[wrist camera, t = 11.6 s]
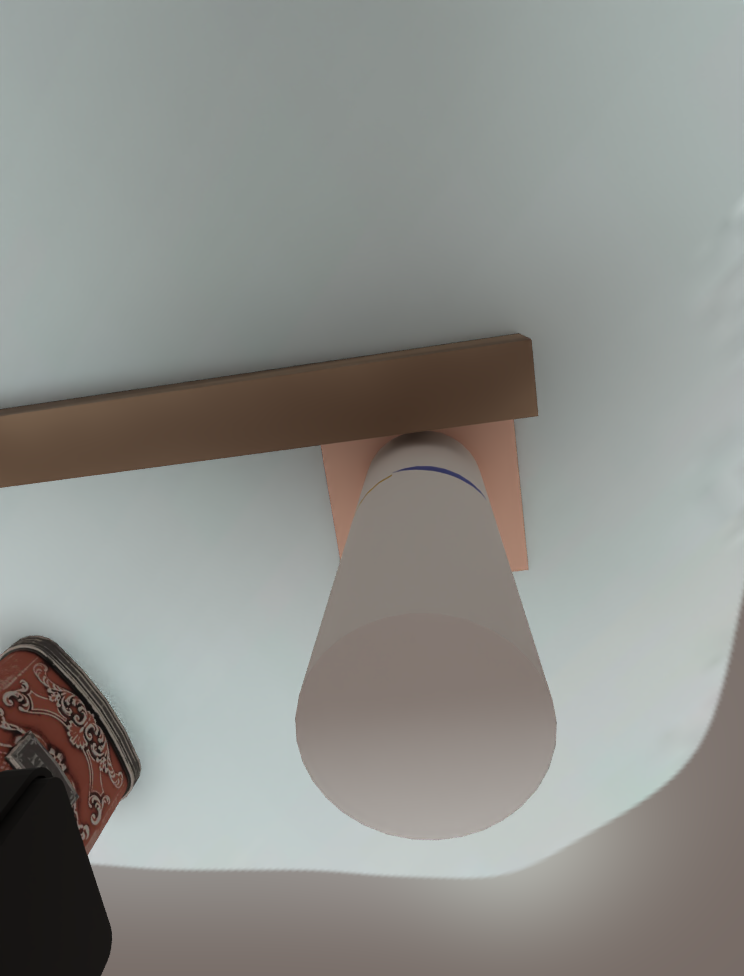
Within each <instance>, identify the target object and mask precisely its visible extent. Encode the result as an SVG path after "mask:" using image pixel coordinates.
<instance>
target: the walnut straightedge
mask: <svg viewBox="0 0 744 976" xmlns="http://www.w3.org/2000/svg"><path fill="white" fill-rule="evenodd" d="M534 416H538V407H537V396H536V385H535V373H534V362H533V351H532V340H531V339H530V338H528V337H525V336H523V335H521V334H519V333H518V334H511V335H505V336H498V337H491V338H484V339H477V340H470V341H464V342H457V343H450V344H443V345H436V346H429V347H423V348H416V349H409V350H402V351H395V352H388V353H382V354H375V355H368V356H361V357H354V358H347V359H341V360H334V361H327V362H320V363H313V364H306V365H300V366H293V367H286V368H279V369H272V370H265V371H259V372H252V373H245V374H238V375H231V376H224V377H217V378H211V379H204V380H197V381H190V382H183V383H176V384H170V385H163V386H156V387H149V388H142V389H135V390H129V391H122V392H115V393H108V394H101V395H94V396H88V397H81V398H74V399H67V400H60V401H53V402H47V403H40V404H33V405H26V406H19V407H12V408H6V409H0V488H2V487H10V486H17V485H25V484H32V483H40V482H47V481H55V480H62V479H70V478H77V477H85V476H92V475H100V474H107V473H115V472H122V471H130V470H137V469H145V468H152V467H160V466H167V465H175V464H182V463H190V462H197V461H205V460H212V459H220V458H227V457H235V456H242V455H250V454H257V453H264V452H272V451H279V450H287V449H294V448H302V447H309V446H317V445H324V444H332V443H339V442H347V441H354V440H362V439H369V438H377V437H384V436H392V435H399V434H407V433H414V432H422V431H429V430H437V429H444V428H452V427H459V426H467V425H474V424H482V423H489V422H497V421H504V420H512V419H519V418H527V417H534Z"/></svg>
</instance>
